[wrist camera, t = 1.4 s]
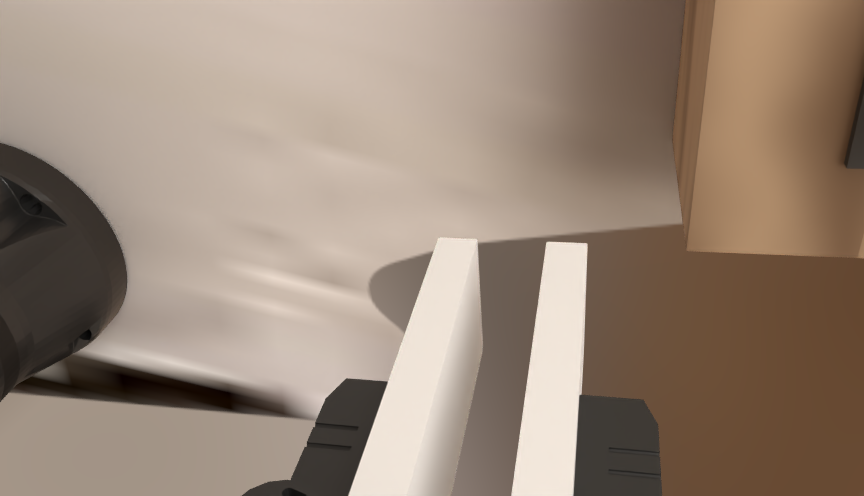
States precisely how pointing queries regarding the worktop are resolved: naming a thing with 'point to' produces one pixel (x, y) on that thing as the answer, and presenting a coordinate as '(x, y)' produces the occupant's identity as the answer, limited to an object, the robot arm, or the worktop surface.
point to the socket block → (772, 127)
